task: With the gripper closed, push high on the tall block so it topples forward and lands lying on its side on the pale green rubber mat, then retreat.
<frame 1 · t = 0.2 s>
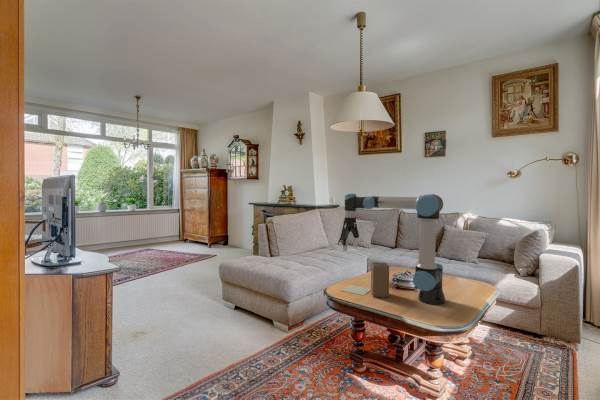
hand: (350, 249, 207), 28 cm above the table, fingers open, 13 cm apart
mat: (356, 290, 209), on the table
block: (379, 295, 200), on the table
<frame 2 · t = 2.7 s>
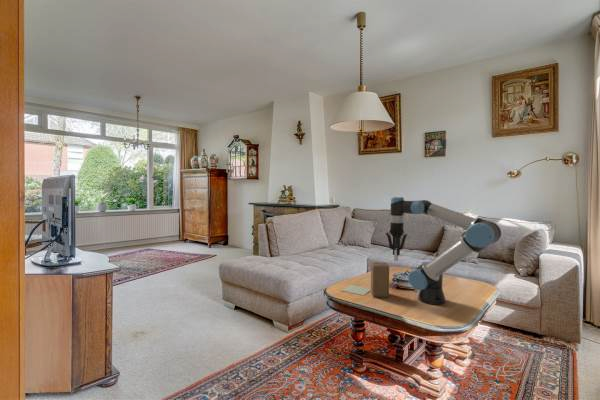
hand: (396, 260, 193), 24 cm above the table, fingers closed
nothing on the table moved.
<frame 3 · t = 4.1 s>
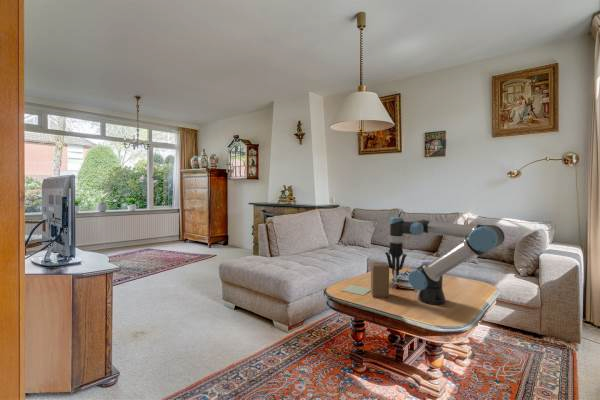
hand: (395, 280, 193), 11 cm above the table, fingers closed
block: (379, 295, 200), on the table, touching hand
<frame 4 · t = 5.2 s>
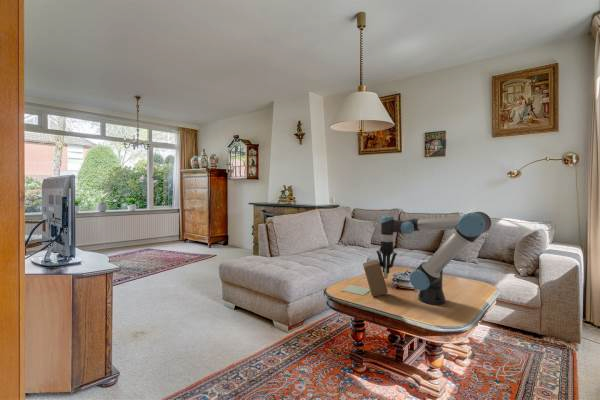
hand: (385, 278, 197), 12 cm above the table, fingers closed
block: (379, 293, 200), point 1 cm above the table, touching gripper
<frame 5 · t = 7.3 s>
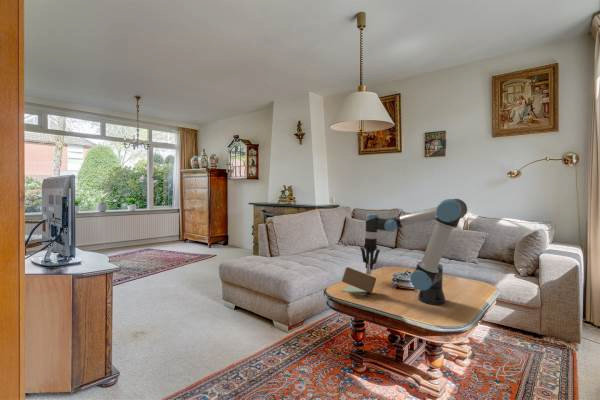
hand: (368, 273, 203), 13 cm above the table, fingers closed
block: (374, 285, 201), point 6 cm above the table, touching gripper
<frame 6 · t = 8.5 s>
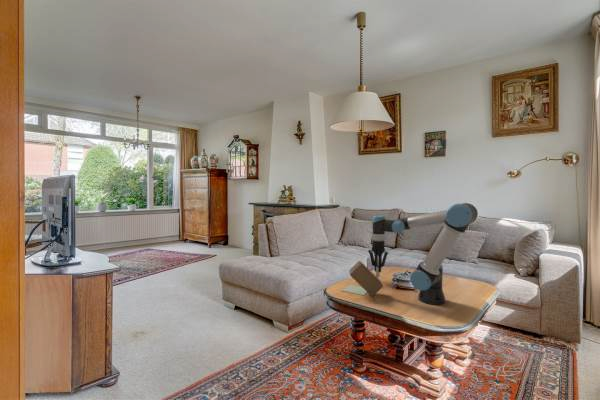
hand: (377, 276, 200), 12 cm above the table, fingers closed
block: (377, 289, 200), point 3 cm above the table, touching gripper
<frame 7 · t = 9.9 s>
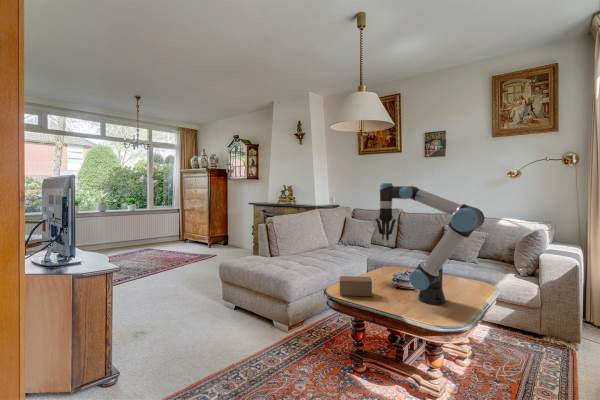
hand: (385, 245, 197), 32 cm above the table, fingers closed
block: (371, 286, 200), point 5 cm above the table, touching mat
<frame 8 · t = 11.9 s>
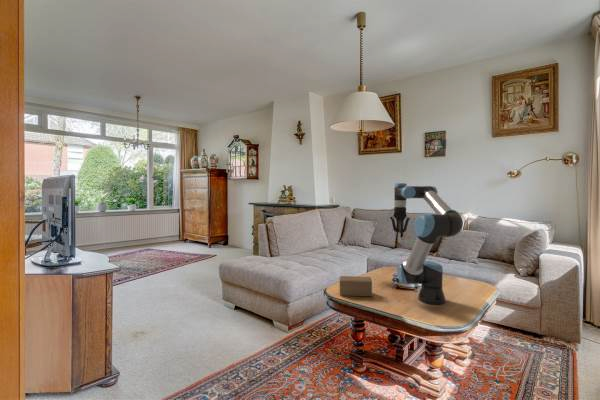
hand: (399, 242, 207), 32 cm above the table, fingers closed
nothing on the table moved.
at the end: block tilted 91°; block inside the target area (7.4 cm from its centre), point 5.4 cm above the table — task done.
